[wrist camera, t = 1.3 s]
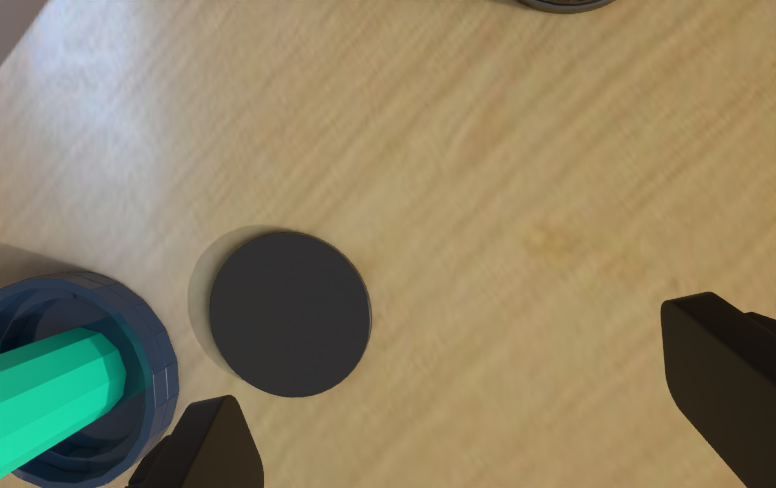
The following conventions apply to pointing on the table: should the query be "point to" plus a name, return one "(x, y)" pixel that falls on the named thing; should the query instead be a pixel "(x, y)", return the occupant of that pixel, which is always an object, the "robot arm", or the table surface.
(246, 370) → the coaster
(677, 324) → the robot arm
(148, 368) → the dish
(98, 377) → the candle
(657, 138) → the table surface
